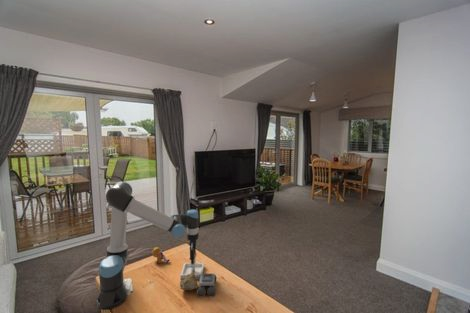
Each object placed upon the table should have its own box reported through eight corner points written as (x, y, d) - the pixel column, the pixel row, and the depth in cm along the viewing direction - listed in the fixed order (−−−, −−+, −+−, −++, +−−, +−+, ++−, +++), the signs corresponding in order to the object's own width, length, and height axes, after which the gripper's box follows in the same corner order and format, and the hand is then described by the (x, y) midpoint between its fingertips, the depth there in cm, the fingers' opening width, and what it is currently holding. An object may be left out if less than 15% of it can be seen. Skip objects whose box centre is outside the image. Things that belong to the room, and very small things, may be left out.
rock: (196, 295, 133) (198, 283, 130) (178, 296, 131) (180, 283, 127) (196, 278, 144) (198, 266, 141) (179, 279, 142) (181, 266, 138)
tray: (180, 279, 145) (180, 275, 145) (184, 266, 159) (184, 262, 159) (202, 279, 146) (202, 274, 145) (203, 266, 160) (204, 262, 159)
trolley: (196, 296, 130) (196, 284, 129) (199, 281, 144) (199, 269, 143) (215, 296, 130) (215, 284, 130) (216, 281, 144) (216, 269, 144)
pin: (189, 273, 150) (189, 256, 149) (190, 269, 154) (190, 253, 153) (195, 273, 150) (195, 256, 149) (196, 270, 154) (196, 253, 153)
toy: (171, 255, 160) (157, 241, 165) (163, 263, 155) (148, 248, 159) (169, 263, 169) (156, 249, 173) (161, 270, 164) (148, 256, 168)
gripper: (197, 238, 142) (197, 273, 144) (199, 228, 158) (199, 259, 160) (185, 238, 142) (185, 273, 144) (189, 228, 157) (189, 259, 160)
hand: (193, 265), depth 152 cm, fingers closed on pin, 3 cm apart
